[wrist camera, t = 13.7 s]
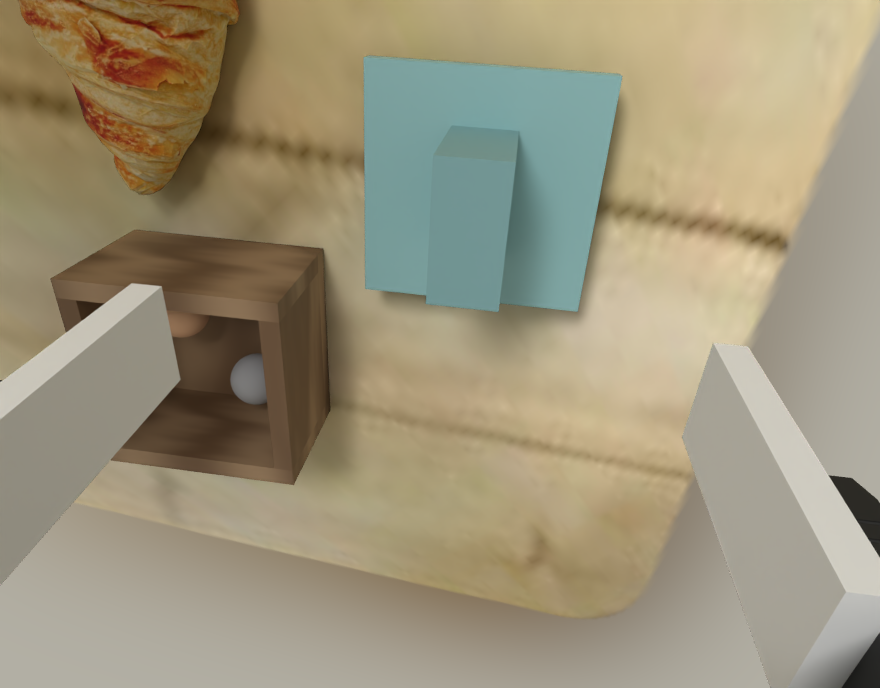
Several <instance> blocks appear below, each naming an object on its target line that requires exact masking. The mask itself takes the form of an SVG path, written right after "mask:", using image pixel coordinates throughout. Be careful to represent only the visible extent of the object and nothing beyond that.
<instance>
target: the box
mask: <svg viewBox="0 0 880 688" xmlns="http://www.w3.org/2000/svg"><path fill="white" fill-rule="evenodd" d="M51 282H52V286H53V289H54V293H55V296H56V299H57V303H58V306H59V310H60V313H61V317H62V320H63V323H64V327H65V330H66V332H68V331H69V330H70V329H72V328H73V327H74V326H76V325H77V324H78V323H80V322H81V321H82V320H84V319H85V318H86V317H88V316H89V315H90V314H92V313H93V312H94V311H96V310H97V309H98V308H100V307H101V306H102V305H104V304H105V303H106V302H108V301H109V300H110V299H111V298H113V297H114V296H115V295H117V294H118V293H119V292H121V291H122V290H123V289H125V288H126V287H127V286H129V285H130V284H131V283H134V284H144V285H154V286H162V291H163V296H164V300H165V305H166V310H168V311H177V312H186V313H195V314H204V315H210V316H209V320H208V322H207V324H206V326H205V327H204V328H203V329H202V330H201V331H200V332H199V333H197V334H195V335H193V336H190V337H184V338H178V337H173V336H172V340H173V345H174V350H175V355H176V360H177V365H178V370H179V375H180V379H181V380H180V381H179V382H178V383H177V384H176V386H175V387H174V388H173V389H172V390H171V391H170V392H169V394H168V395H167V396H166V397H165V398H164V399H163V400H162V402H161V403H160V404H159V405H158V406H157V407H156V408H155V410H154V411H153V412H152V413H151V414H150V415H149V416H148V418H147V419H146V420H145V421H144V422H143V423H142V424H141V426H140V427H139V428H138V429H137V430H136V431H135V432H134V434H133V435H132V436H131V437H130V438H129V439H128V440H127V442H126V443H125V444H124V445H123V446H122V447H121V448H120V450H119V451H118V452H117V453H116V454H115V455H114V456H113V458H112V459H111V460H113V461H120V462H128V463H135V464H142V465H150V466H157V467H165V468H172V469H180V470H187V471H194V472H202V473H209V474H217V475H224V476H232V477H239V478H246V479H254V480H261V481H269V482H276V483H284V484H291V485H294V483H295V481H296V479H297V477H298V475H299V473H300V471H301V469H302V467H303V465H304V463H305V461H306V459H307V457H308V454H309V452H310V450H311V448H312V446H313V444H314V442H315V440H316V438H317V436H318V434H319V432H320V430H321V428H322V426H323V424H324V422H325V420H326V418H327V415H328V413H329V411H330V392H329V370H328V348H327V326H326V304H325V282H324V259H323V249H321V248H311V247H301V246H291V245H281V244H271V243H261V242H251V241H241V240H231V239H221V238H211V237H201V236H191V235H181V234H171V233H161V232H151V231H141V230H133V231H132V232H130V233H128V234H127V235H125V236H123V237H121V238H120V239H118V240H116V241H115V242H113V243H111V244H109V245H108V246H106V247H104V248H103V249H101V250H99V251H97V252H96V253H94V254H92V255H90V256H89V257H87V258H85V259H84V260H82V261H80V262H78V263H77V264H75V265H73V266H72V267H70V268H68V269H66V270H65V271H63V272H61V273H60V274H58V275H56V276H54V277H53V278H51ZM256 353H260V354H262V359H263V368H264V378H265V387H266V396H267V403H265V404H261V405H253V404H249V403H246V402H244V401H242V400H241V399H239V398H238V397H237V396H236V394H235V393H234V391H233V389H232V387H231V381H230V378H231V372H232V370H233V367H234V366H235V364H236V363H237V362H238V361H239V360H240V359H242V358H243V357H245V356H247V355H250V354H256Z"/></svg>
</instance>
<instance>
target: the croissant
mask: <svg viewBox="0 0 880 688" xmlns="http://www.w3.org/2000/svg"><path fill="white" fill-rule="evenodd" d="M18 1H19V4H20V9H21V14H22V16H23V18H24V20H25V21H26V23H27V24H29V25H31V27H32V30H33V33H34V36H35V39H36V40H37V41H38V42H39V44H40V45H41V46H42V47H43V48H44V49H45V50H46V51H47V52H48V53H49V54H50V55H51V56H52V57H54V58H55V59H56V60H57V61H58V62H59V64H60V65H61V66H63V67H64V68H65V70H66V73H67V75H68V76H69V78H70V80H71V81H72V84H73V86H74V89H75V92H76V95H77V97H78V100H79V103H80V106H81V109H82V112H83V116H84V118H85V121H86V123H87V124H88V126H89V127H90V128H91V129H92V130H93V132H94V133H95V134H96V135H97V137H98V138H99V139H100V141H101V142H102V143H103V144H104V145H105V146H106V147H107V148H108V150H109V151H111V152H112V153H113V154H114V162H115V165H116V168H117V171H118V172H119V174H120V176H121V177H122V179H123V180H124V182H125V183H126V184H127V186H128V187H129V188H130V190H133V191H136V192H137V193H138V194H140V195H146V194H152V193H155V192H157V191H159V190H161V189H162V188H163V187H164V186H165V185H166V184H167V183H168V182H169V181H170V180H171V177H172V176H173V175H174V174H175V172H176V170H177V168H178V167H179V164H180V162H181V159H182V157H183V155H184V154H185V152H186V150H187V149H188V147H189V145H190V144H191V143H192V142H193V141H194V140H195V138H196V136H197V134H198V133H199V131H200V128H201V125H202V121H203V118H204V116H205V115H206V114H207V113H208V111H209V109H210V106H211V101H212V98H213V96H214V93H215V92H216V89H217V86H218V83H219V79H220V69H221V63H222V58H223V55H224V49H225V42H226V35H227V25H232V24H235V23H236V22H238V18H239V15H240V12H239V8H238V5H237V1H236V0H18Z"/></svg>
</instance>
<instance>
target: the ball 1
mask: <svg viewBox="0 0 880 688" xmlns="http://www.w3.org/2000/svg"><path fill="white" fill-rule="evenodd" d="M167 315H168V320H169V325H170V330H171V335H172V336H173V337H178V338H184V337H190V336H193V335H195V334H197V333H199V332H200V331H201V330H202V329H203V328H204V327H205V326H206V324H207V322H208V320H209V316H210V315H204V314H195V313H186V312H177V311H168V310H167Z"/></svg>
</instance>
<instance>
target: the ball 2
mask: <svg viewBox="0 0 880 688" xmlns="http://www.w3.org/2000/svg"><path fill="white" fill-rule="evenodd" d="M230 381H231V387H232V389H233V391H234V393H235V394H236V396H237V397H238V398H239V399H241V400H242V401H244V402H246V403H249V404H253V405H261V404H265V403H267V396H266V387H265V378H264V368H263V359H262V354H260V353H256V354H250V355H247V356H245V357H243V358H242V359H240V360H239V361H238V362H237V363H236V364H235V366H234V367H233V370H232V372H231V378H230Z"/></svg>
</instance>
